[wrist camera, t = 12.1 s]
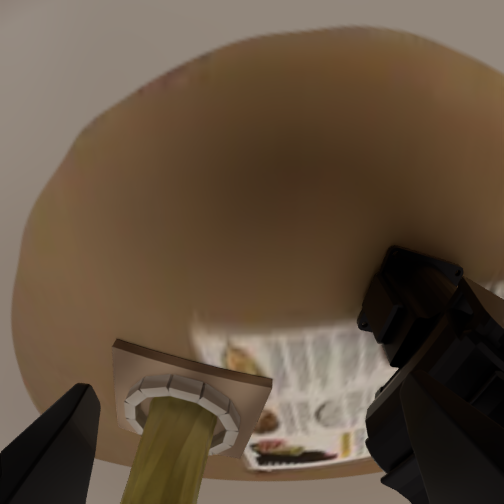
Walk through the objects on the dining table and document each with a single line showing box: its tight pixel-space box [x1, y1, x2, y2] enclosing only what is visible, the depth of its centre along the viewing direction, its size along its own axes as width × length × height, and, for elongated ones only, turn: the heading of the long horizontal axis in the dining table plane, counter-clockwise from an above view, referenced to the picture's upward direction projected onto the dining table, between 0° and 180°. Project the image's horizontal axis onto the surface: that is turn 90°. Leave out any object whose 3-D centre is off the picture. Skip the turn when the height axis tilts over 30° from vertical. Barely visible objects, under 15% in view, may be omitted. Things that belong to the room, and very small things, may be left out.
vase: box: [120, 396, 217, 504], centre depth 19 cm, size 6×6×14 cm
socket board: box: [112, 339, 272, 459], centre depth 26 cm, size 13×12×2 cm
